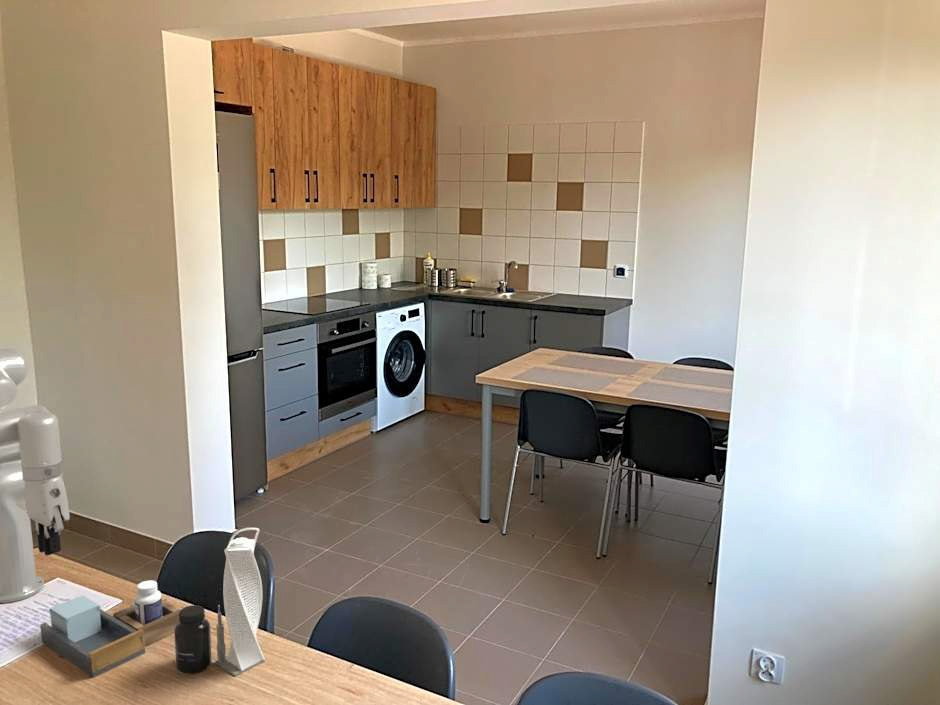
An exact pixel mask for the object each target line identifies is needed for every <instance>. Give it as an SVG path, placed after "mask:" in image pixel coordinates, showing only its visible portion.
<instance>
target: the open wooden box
mask: <svg viewBox="0 0 940 705" xmlns="http://www.w3.org/2000/svg"><path fill="white" fill-rule="evenodd" d="M180 610H181V609H180V608H178V607H177V606H175V605H173V604H171V603H169V602H167V601H165V600H163V599H162V612H163V617H161V618H159V619H157V620H155V621H152V622H150V623H148V624H146V625H142V624H140V623H138V622H137V621H136V613H135V604H133V605H131V606H129V607H126V608H123V609H121V610H119V611H116V612H115V613H113V615H112V616H113V617H115V618H116V619H118V620H120V621H121V622H123V623H125V624H126V625H128V626H130V627H131V628H133V629H135V630H136V631H138V630H140V629H142V630H144V642H145V648H146V647H148V646H150V645H152V644H154V643H156V642H159V641H160V640H162V639H165V638H167V637H169V636H171V635H173V634H174V631H175V627H176V625H177V624H178V623H179V612H180Z"/></svg>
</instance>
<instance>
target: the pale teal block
mask: <svg viewBox="0 0 940 705" xmlns="http://www.w3.org/2000/svg"><path fill="white" fill-rule="evenodd" d="M100 609H101V605H100V604H98V603H96V602H95V601H94V600H92V599H90V598H88V597H86V596H85V595H80V596H77V597H75V598H72V599H70V600H68V601H65V602H62V603H59V604H57V605H55V606H51V607H50V608H49V611H48V612H49V613H50V624H51V625H50V626H51V627H52V628H54V629H55V630H57V631H58V632H60V633H61V634H63V635H64V636H66V637H67V638H69V639H70V640H72V641H73V642H77V641H79V640H82V639H84V638H86V637H89V636H91V635H93V634H95V633H98V632H100V631H101V619H100Z"/></svg>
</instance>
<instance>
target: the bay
mask: <svg viewBox="0 0 940 705" xmlns="http://www.w3.org/2000/svg"><path fill="white" fill-rule="evenodd" d="M100 619H101V631H100V632H98V633H95V634H93V635H91V636H89V637H86V638H84V639H82V640H79V641H77V642H73V641H72V640H70V639H69V638H67V637H66V636H64V635H63V634H61V633H60V632H58V631H57V630H55V629H54V628H52V625H50V624H48V623H46V622H43V623H41V624H40V627H39V628H40V636H41V643H43V644H45V645H46V646H47V647H49V648H50V649H51V650H53V651H54V652H56V653H57V654H58V655H60V656H61V657H63V658H64V659H66V660H67V661H68V662H70V663H71V664H72V665H74V666H76V667H77V668H78V669H80V670H81V671H82V672H84V673H85V674H87V675H88V676H90V677H91V678H96V677H98V676H100V675H102V674H104V673H106V672H108V671H110V670H113V669H114V668H117V667H119V666H121V665H122V664H125V663H126V662H129V661H131V660H133V659H135V658H137V657H139V656H141V655H144V654H145V653H146V647H145V642H144V630H142V629H140V630H138V631H136V630H135V629H133V628H131V627H130V626H128V625H126V624H125V623H123V622H121V621H120V620H118V619H116V618H115V617H113V615H112V614H109V613H108V612H107V611H104V610H102V609H101V608H100Z"/></svg>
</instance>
